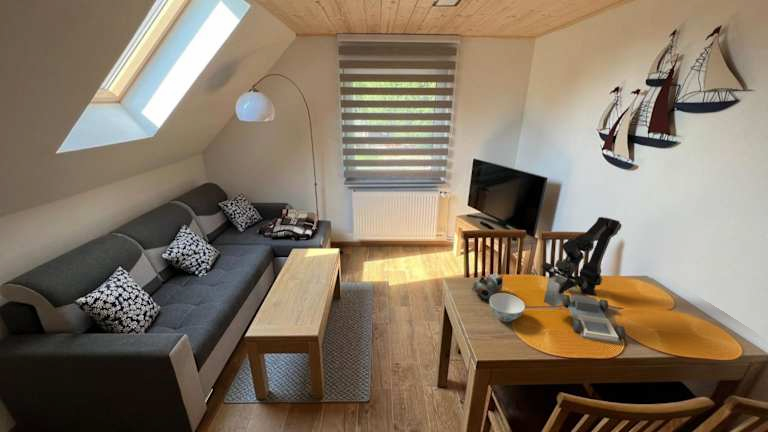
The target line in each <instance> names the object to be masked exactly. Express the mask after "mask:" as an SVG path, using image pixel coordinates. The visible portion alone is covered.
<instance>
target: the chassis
mask: <svg viewBox="0 0 768 432" xmlns="http://www.w3.org/2000/svg"><path fill="white" fill-rule="evenodd" d="M561 304H562V305H563V306H567V307H568V309H569V311H570V314H571V316H572V319H573V320H572V329H573V331H574V332H578V333H579V335H580V337H581V338H582V339H589V340H594V341H595V340H596V341H600V342H606V343H614V344H621V341H620V339H624V338H625V337H626V328H625V327H624V326H623V325H618V324H615V326H614V327H613V325H612V323H611V322H610V320H609V318H607V316H606V315H605V314H604V313H605V312H607V311H608V309H609V301H608V300H607V299H599V301H598V299H597V298H596V297H591V296H585V295H576V294H574V295H573V299H571V297H570V295H569V294H564V295H563V299H562V303H561Z"/></svg>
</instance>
